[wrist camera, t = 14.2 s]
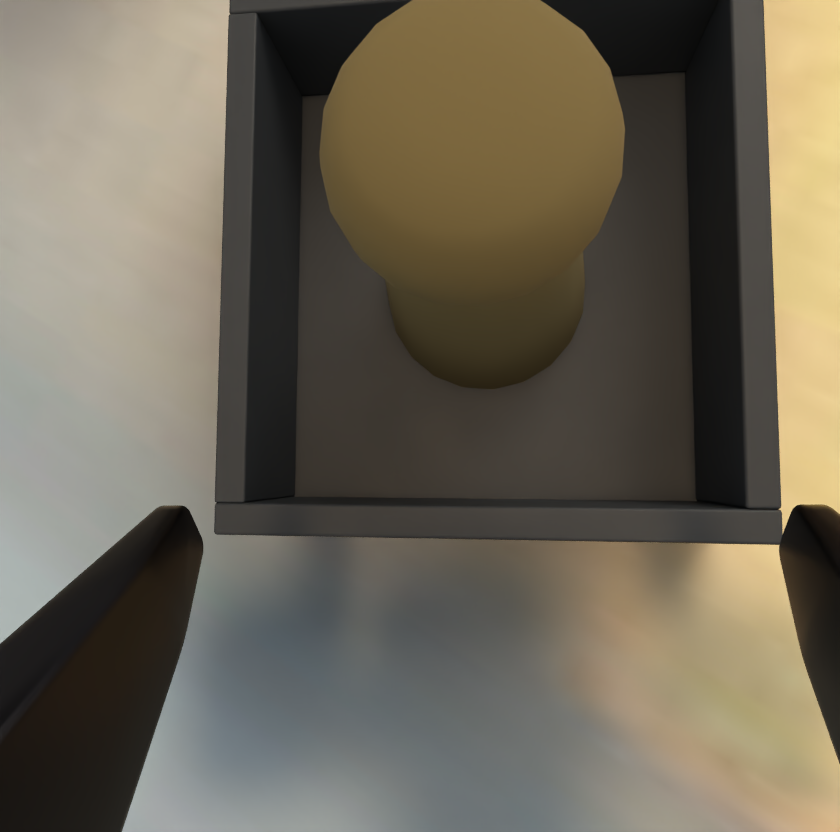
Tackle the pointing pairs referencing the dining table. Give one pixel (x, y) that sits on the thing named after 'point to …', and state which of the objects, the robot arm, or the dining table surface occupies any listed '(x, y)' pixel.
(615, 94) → the tan pawn figure
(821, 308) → the dining table surface
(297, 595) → the dining table surface
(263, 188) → the bin
